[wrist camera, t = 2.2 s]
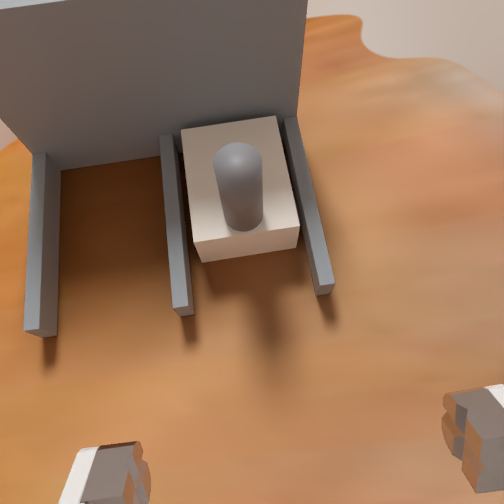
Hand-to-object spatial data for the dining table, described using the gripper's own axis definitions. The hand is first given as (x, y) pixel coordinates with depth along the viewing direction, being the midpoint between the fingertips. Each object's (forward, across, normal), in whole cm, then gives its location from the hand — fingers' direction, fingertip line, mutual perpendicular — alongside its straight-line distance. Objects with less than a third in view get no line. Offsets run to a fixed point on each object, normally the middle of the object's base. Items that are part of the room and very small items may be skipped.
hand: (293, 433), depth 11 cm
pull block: (+23, 0, 0) cm, 23 cm away
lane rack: (+22, +5, +1) cm, 23 cm away
